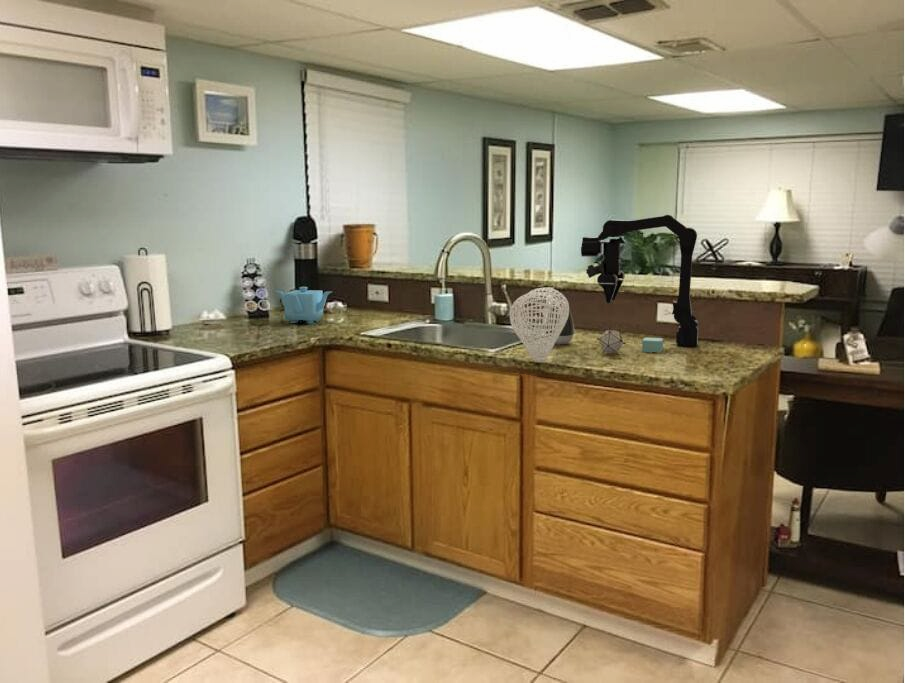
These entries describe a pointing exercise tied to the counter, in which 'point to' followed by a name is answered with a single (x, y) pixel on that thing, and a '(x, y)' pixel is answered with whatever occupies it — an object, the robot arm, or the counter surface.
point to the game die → (611, 341)
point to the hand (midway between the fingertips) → (610, 301)
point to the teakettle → (303, 304)
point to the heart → (521, 324)
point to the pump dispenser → (567, 331)
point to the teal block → (652, 345)
